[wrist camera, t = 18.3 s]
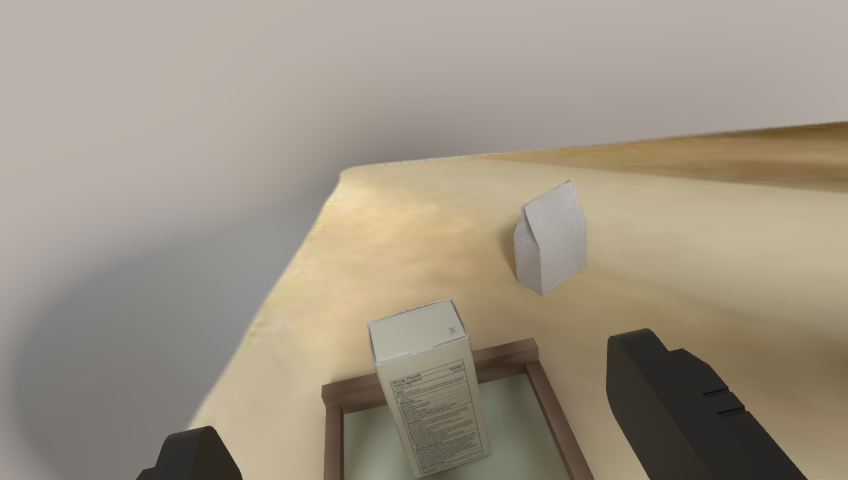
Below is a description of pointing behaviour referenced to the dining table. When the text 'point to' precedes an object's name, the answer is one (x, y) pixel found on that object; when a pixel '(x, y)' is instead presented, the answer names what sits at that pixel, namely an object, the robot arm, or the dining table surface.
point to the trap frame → (504, 415)
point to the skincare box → (430, 386)
